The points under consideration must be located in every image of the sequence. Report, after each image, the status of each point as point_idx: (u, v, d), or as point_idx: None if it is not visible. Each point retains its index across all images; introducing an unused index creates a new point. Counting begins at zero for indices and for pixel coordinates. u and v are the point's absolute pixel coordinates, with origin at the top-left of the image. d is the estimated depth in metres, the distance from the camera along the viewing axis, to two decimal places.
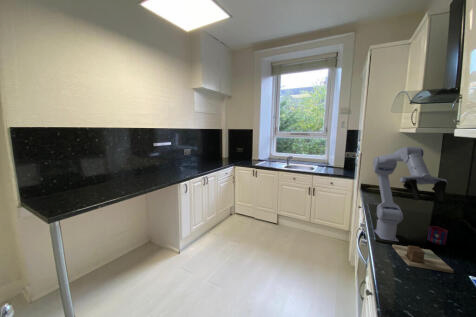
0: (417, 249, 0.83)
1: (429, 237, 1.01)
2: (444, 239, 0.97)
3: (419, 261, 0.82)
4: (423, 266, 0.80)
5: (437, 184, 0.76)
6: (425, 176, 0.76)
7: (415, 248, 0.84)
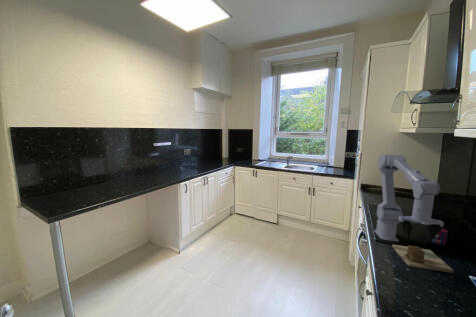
0: (417, 249, 0.83)
1: None
2: (444, 239, 0.97)
3: (419, 261, 0.82)
4: (423, 266, 0.80)
5: (432, 227, 0.80)
6: None
7: (415, 248, 0.84)
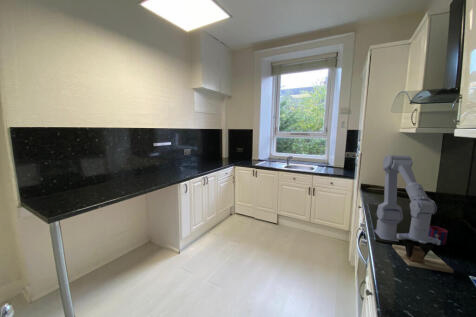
0: (417, 249, 0.83)
1: None
2: (444, 239, 0.97)
3: (419, 261, 0.82)
4: (423, 266, 0.80)
5: (424, 245, 0.82)
6: None
7: (415, 248, 0.84)
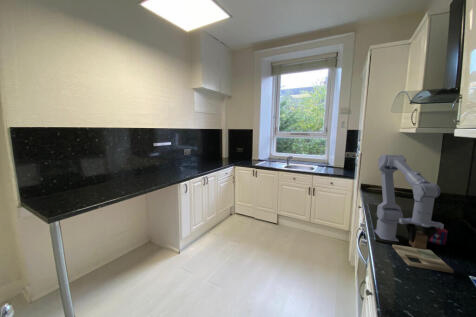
0: (420, 233, 0.82)
1: None
2: (444, 239, 0.97)
3: (422, 245, 0.81)
4: (423, 266, 0.80)
5: (427, 229, 0.81)
6: None
7: (418, 233, 0.83)
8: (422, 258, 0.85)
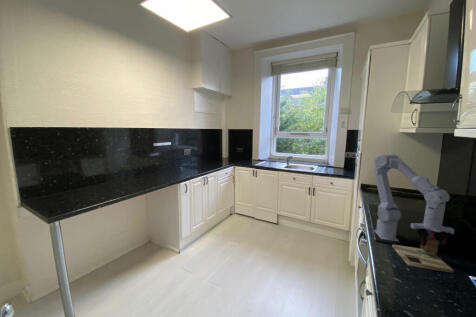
0: (431, 238, 0.86)
1: None
2: (444, 239, 0.97)
3: (433, 250, 0.85)
4: (423, 266, 0.80)
5: (438, 234, 0.85)
6: None
7: (429, 237, 0.87)
8: (422, 258, 0.85)
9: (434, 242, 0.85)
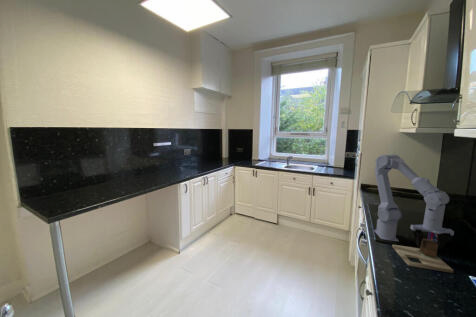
0: (430, 242, 0.86)
1: (429, 237, 1.01)
2: None
3: (433, 253, 0.85)
4: (423, 266, 0.80)
5: (442, 236, 0.84)
6: None
7: (428, 241, 0.87)
8: (422, 258, 0.85)
9: (433, 246, 0.85)
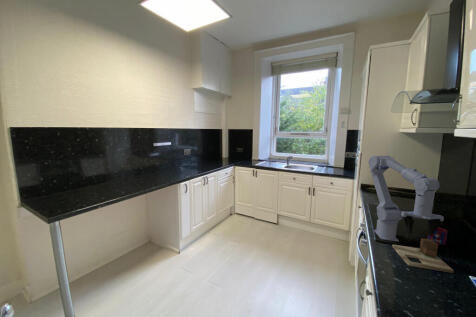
0: (430, 242, 0.86)
1: (429, 237, 1.01)
2: (444, 239, 0.97)
3: (433, 253, 0.85)
4: (423, 266, 0.80)
5: (432, 222, 0.85)
6: None
7: (428, 241, 0.87)
8: (422, 258, 0.85)
9: (433, 246, 0.85)
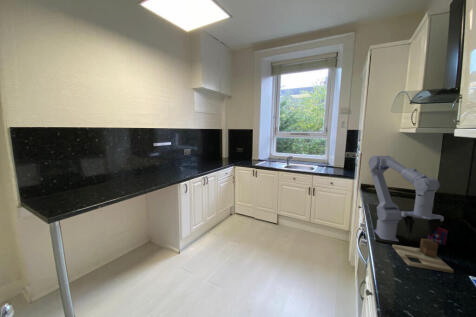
0: (430, 242, 0.86)
1: (429, 237, 1.01)
2: (444, 239, 0.97)
3: (433, 253, 0.85)
4: (423, 266, 0.80)
5: (432, 222, 0.85)
6: None
7: (428, 241, 0.87)
8: (422, 258, 0.85)
9: (433, 246, 0.85)
